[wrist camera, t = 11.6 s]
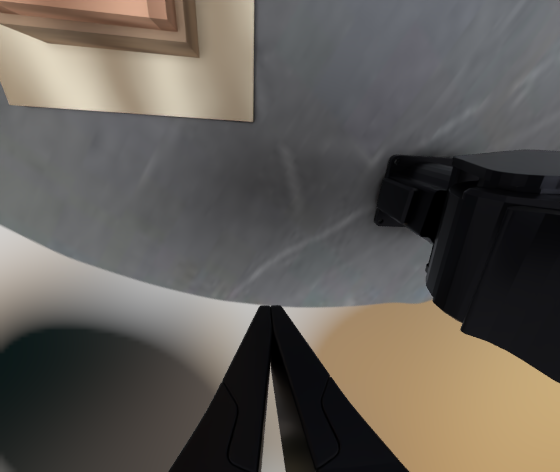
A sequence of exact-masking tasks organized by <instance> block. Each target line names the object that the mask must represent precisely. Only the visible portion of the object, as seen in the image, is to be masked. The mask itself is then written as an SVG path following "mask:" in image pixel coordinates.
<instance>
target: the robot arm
mask: <svg viewBox="0 0 560 472" xmlns="http://www.w3.org/2000/svg"><path fill="white" fill-rule="evenodd" d="M396 159H398V161H397V163H396V164H395V160H396ZM380 219H382V220H381V221H380V222H378V221H379V220H380ZM374 223H375V224H376V225H378V226H393V227H407V228H409V229H410V230H412V231H413V232H415V233H416V234H417V235H419V236H420V237H423V238H424V239H426V240H427V241H429V242H430V243H432V244H433V247H432V251H431V255H430V259H429V263H428V264H427V265H426V269H425V271H426V273H427V275H426V286H427V288H428V290H429V292H430V293H431V295H432V296H433V302H434V304H436V305H437V306H438V307H439V308H440V309H441V310H442V311H444V312H445V313H446V314H448V315H449V316H451V317H452V318H454V319H455V320H457V321H459V322H461V323H463V324H462V326H461V331H462V332H463V333H465V334H468V335H471V336H473V337H476V338H480V339H482V340H485V341H488V342H490V343H492V344H494V345H496V346H498V347H500V348H502V349H505V350H506V351H508V352H510V353H512V354H513V355H515V356H517V357H518V358H520V359H522V360H523V361H525V362H526V363H528V364H529V365H531V366H533V367H534V368H536V369H537V370H539V371H540V372H542V373H543V374H545V375H547V376H548V377H550V378H551V379H553V380H555V381H557V382H559V383H560V151H546V150H514V151H503V152H493V153H482V154H472V155H461V156H454V157H453V158H443V157H425V156H408V155H394V156H392V157H391V158H390V160H389V164H388V168H387V172H386V176H385V179H384V180H383V182H382V186H381V190H380V194H379V198H378V202H377V211H376V215H375V218H374ZM270 363H271V373H272V380H273V387H274V393H275V400H276V407H277V414H278V421H279V428H280V435H281V442H282V449H283V456H284V463H285V470H286V472H409V471H408V470H407V469H406V468H405V467H404V466H403V464H402V463H401V462H400V461H399V460H398V458H397V457H396V456H395V455H394V454H393V453H392V452H391V450H390V449H389V448H388V447H387V446H386V445H385V443H384V442H383V441H382V440H381V439H380V438H379V436H378V435H377V434H376V433H375V432H374V431H373V429H372V428H371V427H370V426H369V425H368V424H367V422H366V421H365V420H364V419H363V418H362V417H361V415H360V414H359V413H358V412H357V411H356V409H355V408H354V407H353V406H352V405H351V403H350V402H349V401H348V399H347V398H346V397H345V395H344V394H343V393H342V391H341V390H340V389H339V387H338V386H337V384H336V383H335V381H334V380H333V379H332V377H330V375H329V373H328V372H327V370H326V369H325V367H324V366H323V365H322V363H321V362H320V360H319V359H318V358H317V356H316V355H315V353H314V352H313V350H312V349H311V348H310V346H309V345H308V343H307V342H306V341H305V339H304V338H303V336H302V335H301V333H300V332H299V331H298V329H297V328H296V326H295V325H294V324H293V322H292V321H291V319H290V318H289V316H288V315H287V314H286V312H285V311H284V309H283V308H282V307H281V306H280V305H272V306H271V307H270V306H260V307H259V308H258V310H257V312H256V314H255V316H254V318H253V320H252V322H251V324H250V326H249V328H248V330H247V333H246V334H245V336H244V338H243V340H242V342H241V345H240V346H239V348H238V350H237V352H236V354H235V356H234V358H233V360H232V362H231V364H230V366H229V369H228V370H227V373H226V374H225V377H224V378H223V381H222V383H221V384H220V386H219V388H218V390H217V392H216V394H215V396H214V398H213V400H212V402H211V403H210V406H209V408H208V409H207V411H206V413H205V414H204V416H203V418H202V419H201V421H200V423H199V424H198V426H197V427H196V429H195V431H194V432H193V434H192V436H191V437H190V439H189V440H188V442H187V444H186V445H185V447H184V448H183V450H182V451H181V453H180V455H179V456H178V457H177V459H176V461H175V462H174V464H173V465H172V467H171V468H170V470H169V472H261V467H262V455H263V444H264V432H265V421H266V410H267V398H268V387H269V386H268V385H269V375H270Z"/></svg>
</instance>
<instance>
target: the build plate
mask: <svg viewBox="0 0 560 472" xmlns="http://www.w3.org/2000/svg"><path fill="white" fill-rule="evenodd" d="M0 82H1V84H2V87H3V89H4V92H5V94H6V97H7V99H8V102H9V104H10V105H18V106H30V107H45V108H59V109H73V110H88V111H102V112H116V113H131V114H145V115H159V116H174V117H188V118H202V119H217V120H231V121H245V122H253V94H254V0H0Z"/></svg>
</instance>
